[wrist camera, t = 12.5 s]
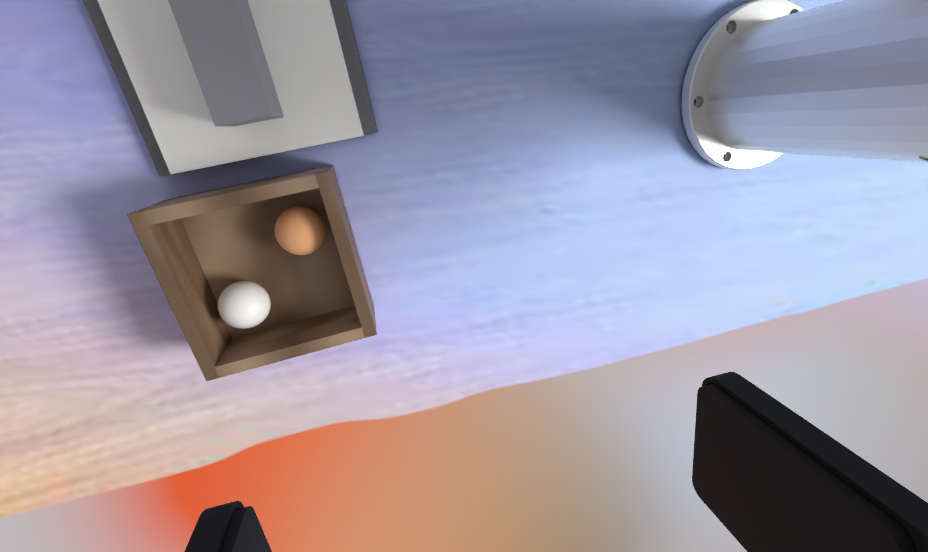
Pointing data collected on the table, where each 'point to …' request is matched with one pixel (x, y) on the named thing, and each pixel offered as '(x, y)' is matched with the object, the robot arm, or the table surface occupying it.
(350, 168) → the table surface
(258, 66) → the lid
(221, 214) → the box
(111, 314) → the table surface
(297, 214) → the orange ball
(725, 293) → the table surface
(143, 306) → the table surface
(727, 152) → the robot arm
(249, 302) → the off-white ball
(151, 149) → the mat
